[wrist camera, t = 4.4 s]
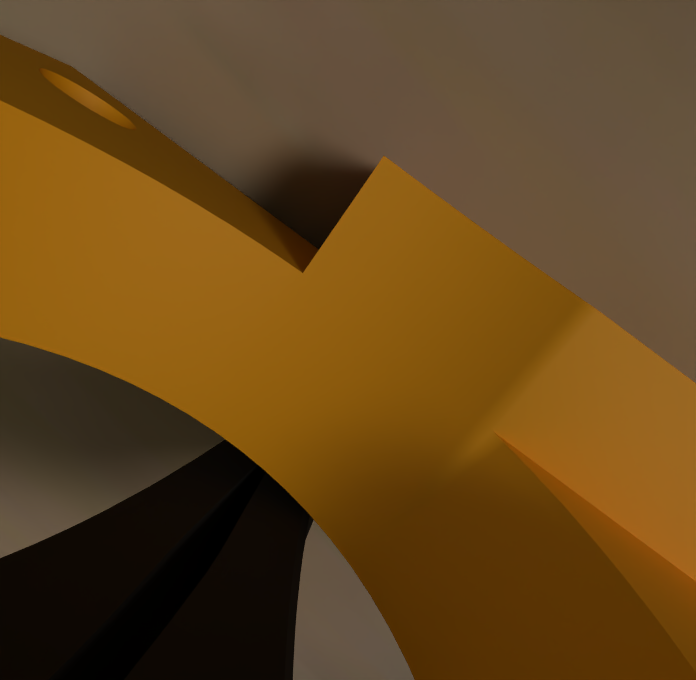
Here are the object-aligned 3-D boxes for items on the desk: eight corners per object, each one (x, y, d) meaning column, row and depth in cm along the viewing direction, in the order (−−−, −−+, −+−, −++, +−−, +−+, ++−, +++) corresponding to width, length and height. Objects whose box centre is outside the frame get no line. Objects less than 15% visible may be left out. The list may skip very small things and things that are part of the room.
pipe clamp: (708, 407, 9) (1358, 830, 3) (534, 581, 10) (714, 1173, 4) (120, -31, 9) (-628, -657, 3) (8, 194, 10) (-713, 145, 4)
